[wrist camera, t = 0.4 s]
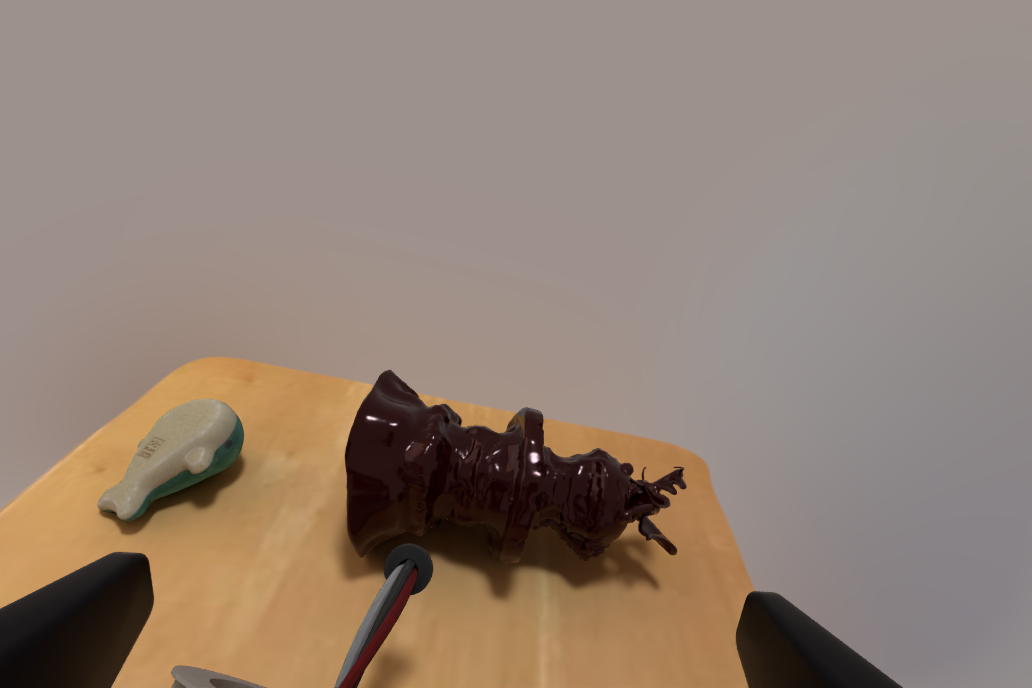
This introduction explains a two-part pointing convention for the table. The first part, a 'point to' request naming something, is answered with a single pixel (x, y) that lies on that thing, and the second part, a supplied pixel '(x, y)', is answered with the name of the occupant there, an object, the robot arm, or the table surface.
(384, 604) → the light fixture
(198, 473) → the whale figurine
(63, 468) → the table surface
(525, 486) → the figurine
